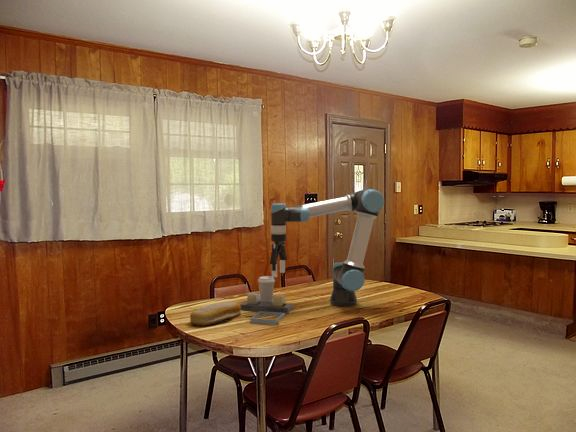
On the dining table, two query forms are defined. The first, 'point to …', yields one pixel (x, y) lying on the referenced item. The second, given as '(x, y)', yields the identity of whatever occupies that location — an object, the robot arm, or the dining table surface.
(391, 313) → the dining table surface
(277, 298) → the tan rectangular block
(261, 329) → the dining table surface
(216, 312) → the bread
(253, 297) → the grey rectangular block
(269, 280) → the coffee cup
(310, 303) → the dining table surface
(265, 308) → the grey slotted holder
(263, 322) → the parts tray
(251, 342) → the dining table surface
